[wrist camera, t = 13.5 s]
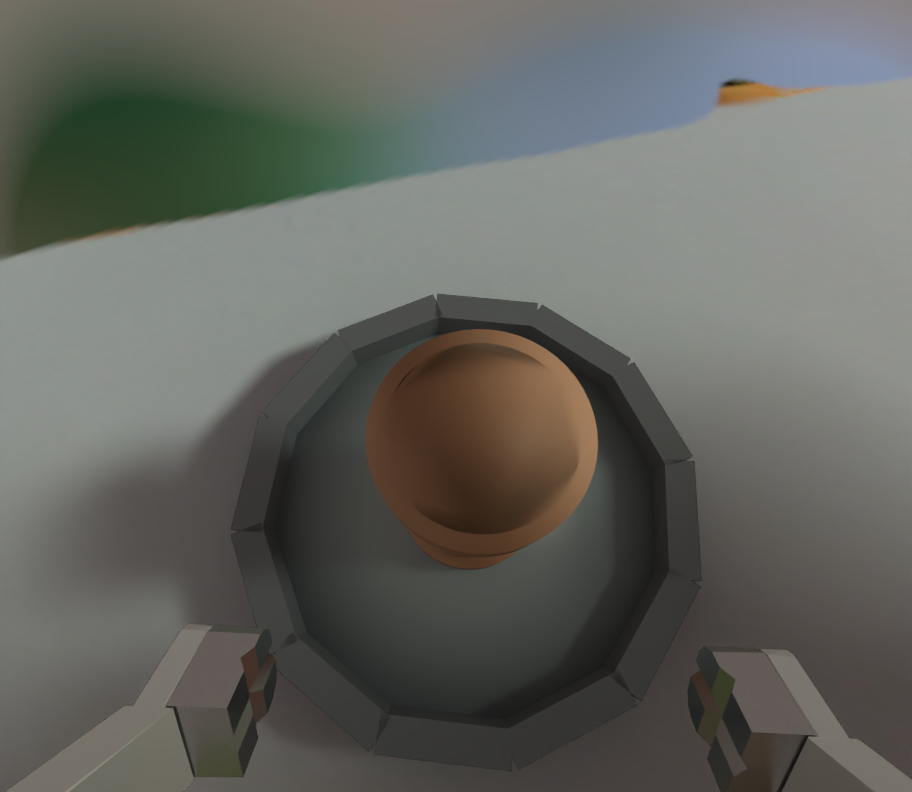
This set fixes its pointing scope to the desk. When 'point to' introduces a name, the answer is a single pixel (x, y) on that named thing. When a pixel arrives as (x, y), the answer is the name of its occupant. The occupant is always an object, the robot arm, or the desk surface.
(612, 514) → the round dish
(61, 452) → the desk surface
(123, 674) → the desk surface
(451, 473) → the brown flared cylinder
